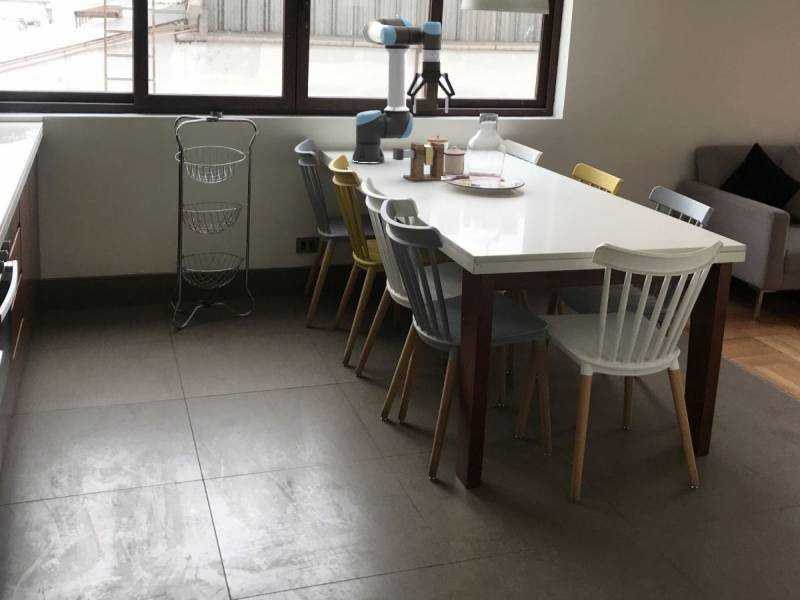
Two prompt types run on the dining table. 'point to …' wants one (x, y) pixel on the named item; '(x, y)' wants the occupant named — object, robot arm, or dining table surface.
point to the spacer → (428, 155)
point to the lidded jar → (439, 139)
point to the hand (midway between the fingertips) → (430, 113)
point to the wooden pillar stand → (418, 164)
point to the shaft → (407, 153)
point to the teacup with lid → (454, 161)
